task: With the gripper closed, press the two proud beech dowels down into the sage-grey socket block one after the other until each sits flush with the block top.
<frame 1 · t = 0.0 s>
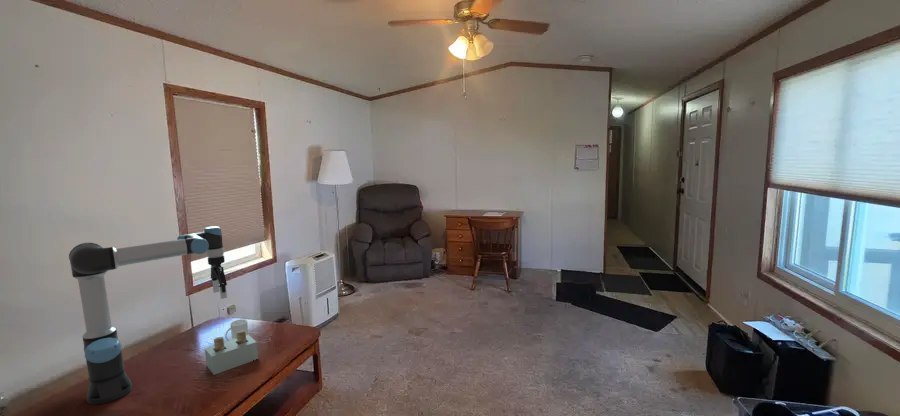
hand: (220, 295, 215), 28 cm above the table, fingers open, 13 cm apart
peg far: (241, 339, 202), point 10 cm above the table, slide at 5.0 cm
peg near: (219, 346, 195), point 10 cm above the table, slide at 5.0 cm
mug: (237, 344, 219), on the table
socket block: (232, 362, 200), on the table
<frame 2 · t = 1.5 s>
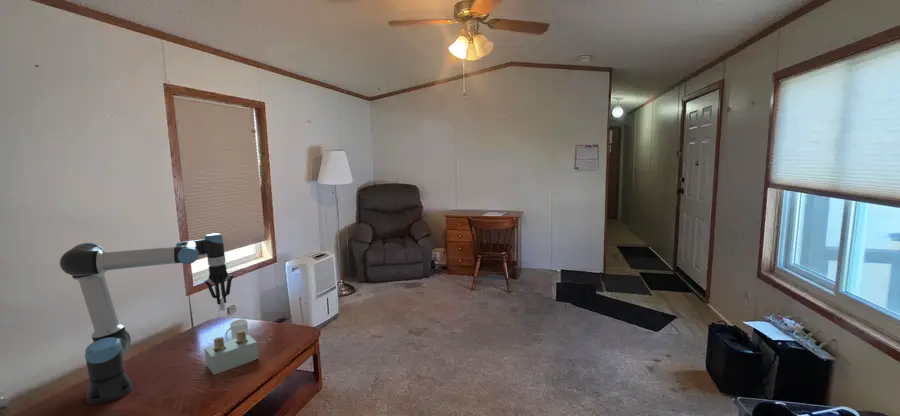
hand: (222, 309, 205), 24 cm above the table, fingers closed
nothing on the table moved.
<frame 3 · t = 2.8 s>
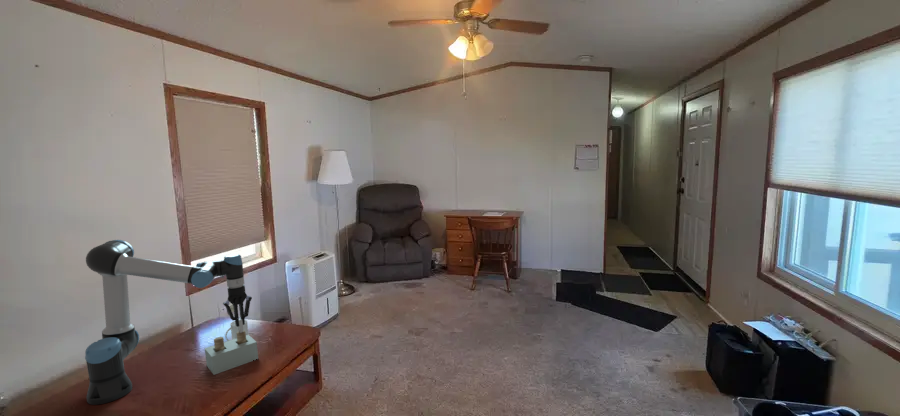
hand: (241, 331, 202), 14 cm above the table, fingers closed
peg far: (241, 339, 202), point 10 cm above the table, slide at 4.9 cm, touching gripper
everything else where it was.
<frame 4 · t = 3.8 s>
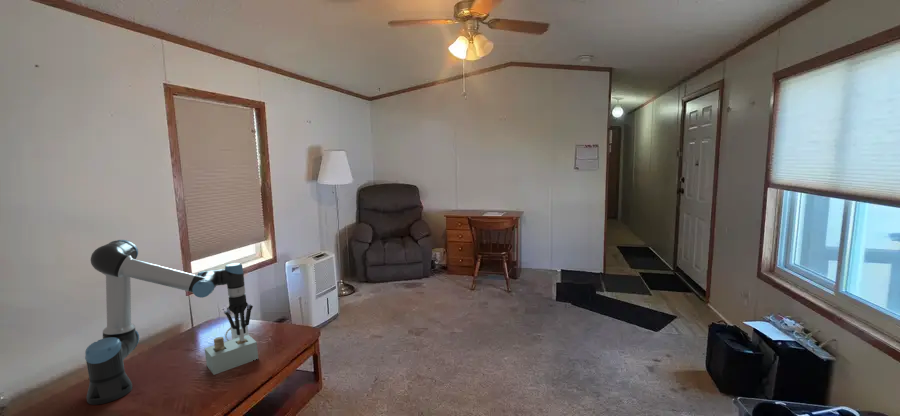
hand: (241, 340, 202), 10 cm above the table, fingers closed
peg far: (242, 348, 203), point 5 cm above the table, slide at 0.5 cm, touching gripper
everything else where it was.
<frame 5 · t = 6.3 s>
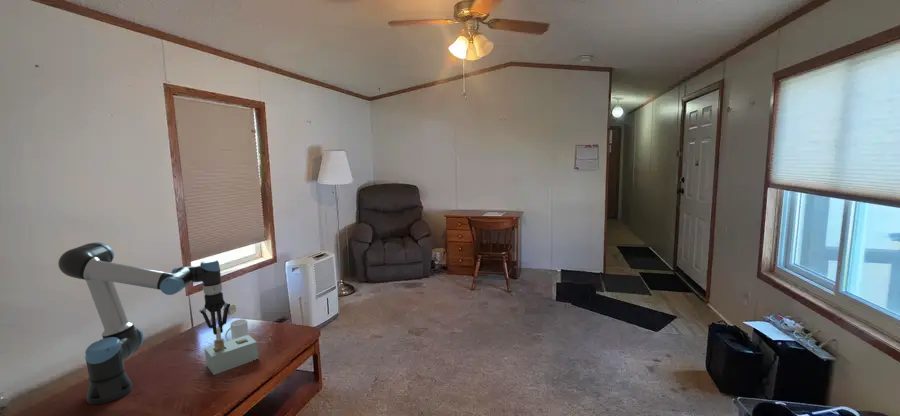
hand: (218, 339, 195), 14 cm above the table, fingers closed
peg far: (242, 348, 203), point 5 cm above the table, slide at 0.4 cm
peg near: (219, 348, 195), point 9 cm above the table, slide at 4.3 cm, touching gripper
everything else where it was.
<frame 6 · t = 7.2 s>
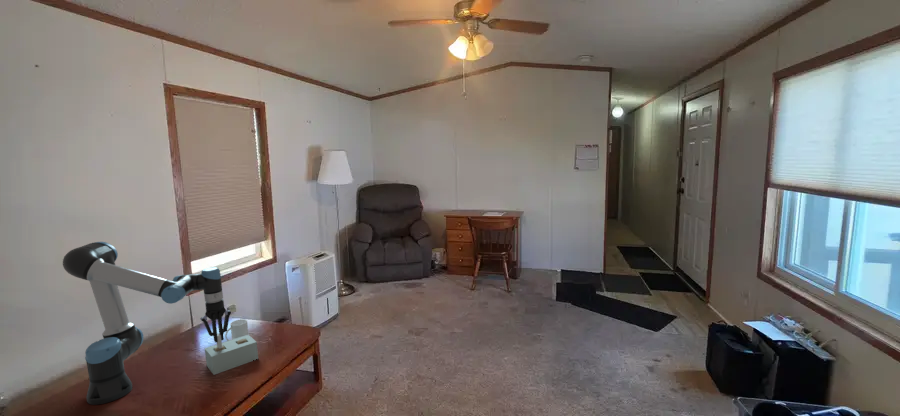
hand: (219, 347, 195), 10 cm above the table, fingers closed
peg near: (220, 355, 196), point 5 cm above the table, slide at 0.4 cm, touching gripper
everything else where it was.
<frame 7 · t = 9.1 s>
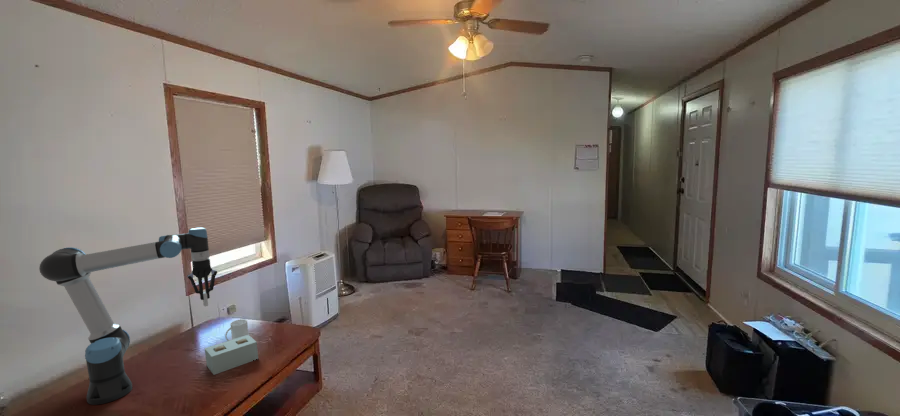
hand: (205, 305, 202), 28 cm above the table, fingers closed
peg near: (220, 355, 196), point 5 cm above the table, slide at 0.4 cm
everything else where it was.
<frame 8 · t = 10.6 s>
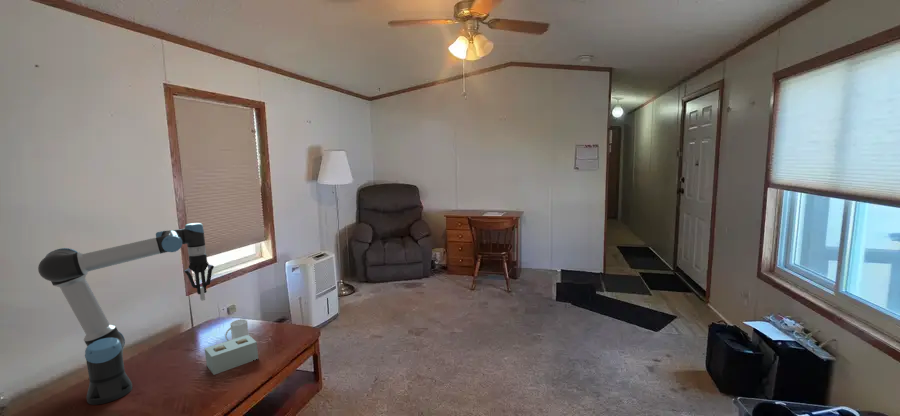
hand: (202, 299, 205), 29 cm above the table, fingers closed
nothing on the table moved.
at the end: peg far slide at 0.4 cm; peg near slide at 0.4 cm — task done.
